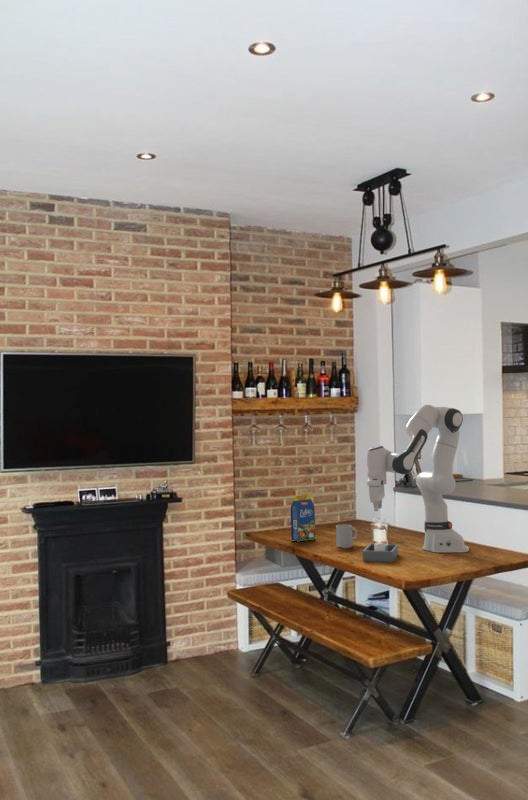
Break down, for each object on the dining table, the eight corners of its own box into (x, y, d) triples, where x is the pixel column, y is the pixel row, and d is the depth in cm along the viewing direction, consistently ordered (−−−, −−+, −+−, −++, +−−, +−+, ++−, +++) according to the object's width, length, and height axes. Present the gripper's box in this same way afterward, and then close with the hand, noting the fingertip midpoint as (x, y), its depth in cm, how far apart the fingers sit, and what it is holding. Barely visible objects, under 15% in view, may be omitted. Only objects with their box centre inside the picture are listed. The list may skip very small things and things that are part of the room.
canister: (375, 557, 354) (374, 542, 354) (385, 557, 352) (385, 542, 352) (374, 559, 349) (373, 544, 349) (384, 559, 347) (384, 544, 347)
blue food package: (315, 540, 407) (314, 494, 408) (298, 542, 401) (296, 496, 401) (308, 538, 413) (307, 493, 413) (291, 541, 406) (290, 495, 406)
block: (378, 554, 361) (377, 543, 361) (388, 554, 360) (388, 544, 360) (376, 556, 356) (376, 545, 356) (386, 556, 355) (386, 546, 355)
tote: (398, 555, 361) (398, 544, 361) (392, 562, 343) (392, 551, 344) (369, 554, 365) (369, 543, 365) (363, 561, 348) (362, 550, 348)
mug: (341, 548, 380) (341, 527, 380) (333, 546, 388) (332, 525, 388) (361, 546, 385) (360, 525, 386) (352, 543, 393) (352, 523, 393)
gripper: (374, 478, 362) (375, 506, 362) (366, 482, 342) (367, 512, 342) (387, 478, 360) (388, 506, 360) (380, 482, 340) (381, 512, 340)
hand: (378, 509), depth 351 cm, fingers open, 8 cm apart
